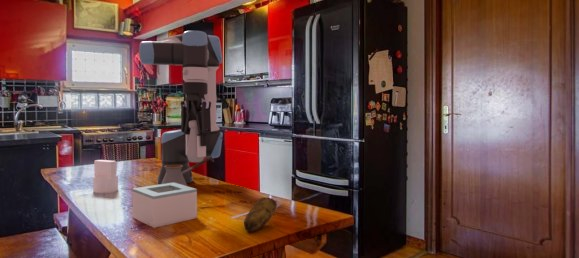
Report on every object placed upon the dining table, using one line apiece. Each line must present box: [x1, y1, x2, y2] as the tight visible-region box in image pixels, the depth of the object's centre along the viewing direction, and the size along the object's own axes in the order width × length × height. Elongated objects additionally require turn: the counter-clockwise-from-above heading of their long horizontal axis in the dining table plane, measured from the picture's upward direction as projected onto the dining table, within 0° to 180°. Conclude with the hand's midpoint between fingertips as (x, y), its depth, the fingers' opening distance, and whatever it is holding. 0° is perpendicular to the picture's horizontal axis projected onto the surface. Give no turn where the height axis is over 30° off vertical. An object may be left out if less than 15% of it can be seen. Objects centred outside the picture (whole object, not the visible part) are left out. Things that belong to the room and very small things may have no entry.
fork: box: [230, 201, 283, 219], centre depth 128 cm, size 3×24×2 cm, turn 136°
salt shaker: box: [186, 119, 205, 163], centre depth 124 cm, size 6×6×13 cm
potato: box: [243, 197, 278, 233], centre depth 112 cm, size 8×13×8 cm, turn 136°
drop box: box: [131, 182, 198, 229], centre depth 121 cm, size 14×14×9 cm
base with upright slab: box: [92, 159, 119, 194], centre depth 157 cm, size 9×9×12 cm
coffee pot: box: [161, 157, 215, 186], centre depth 144 cm, size 21×12×15 cm, turn 127°
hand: (195, 155), depth 124 cm, fingers closed on salt shaker, 6 cm apart
